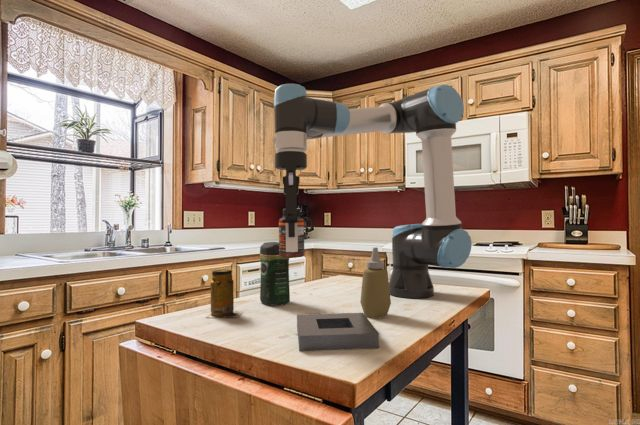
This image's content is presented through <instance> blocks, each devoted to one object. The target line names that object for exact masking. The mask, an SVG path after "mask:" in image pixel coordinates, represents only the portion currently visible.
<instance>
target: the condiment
mask: <svg viewBox="0 0 640 425" xmlns="http://www.w3.org/2000/svg"><path fill="white" fill-rule="evenodd" d="M232 273H233V271H232V270H231V269H229V268H228V269H227V268H226V269H225V268H223V269H221V268H220V269H214V270H212V271H211V278H212V279H211V280H210V313H209V314H207V316H206V318H210V319H211V318H213V319H214V318H217V319H219V318H239V317H240V316H241V315H242V314H243V313H244V310H235V309H234V308H235V307H234V302H235V300H234V287H235V286H234V279H233V274H232Z"/></svg>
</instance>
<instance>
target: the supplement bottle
mask: <svg viewBox="0 0 640 425" xmlns="http://www.w3.org/2000/svg"><path fill="white" fill-rule="evenodd" d="M285 216H286V208H283V209H282V217H281V218H279V220H278V242H279V255H280V256H281V257H286V258H289V259H290V258H294V259H296V258H301V257H303V256H305V221H304V218H303V217H301V210H300V208H297V216H298V218H297V226H298V252H286V223H283V220H285Z"/></svg>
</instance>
